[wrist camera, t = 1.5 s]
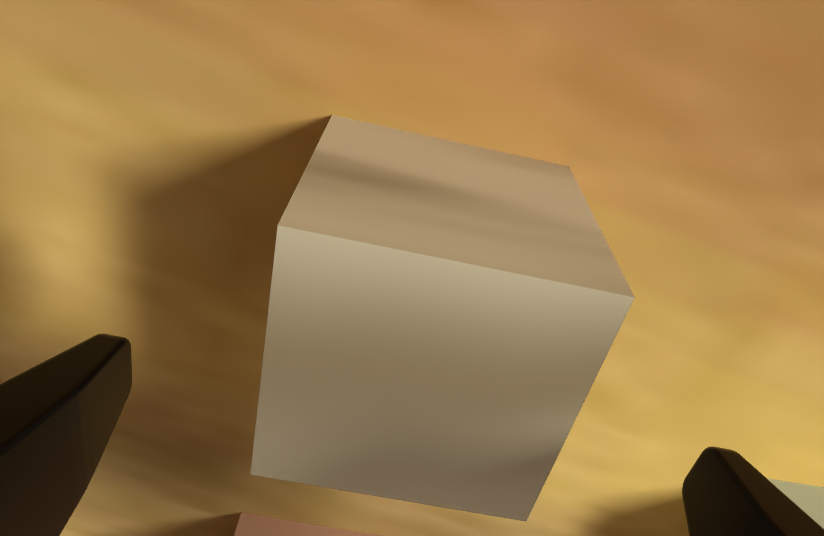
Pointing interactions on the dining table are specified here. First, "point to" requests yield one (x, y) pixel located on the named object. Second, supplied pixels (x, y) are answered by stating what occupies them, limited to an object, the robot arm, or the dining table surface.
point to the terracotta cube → (286, 528)
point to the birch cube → (431, 321)
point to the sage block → (804, 498)
